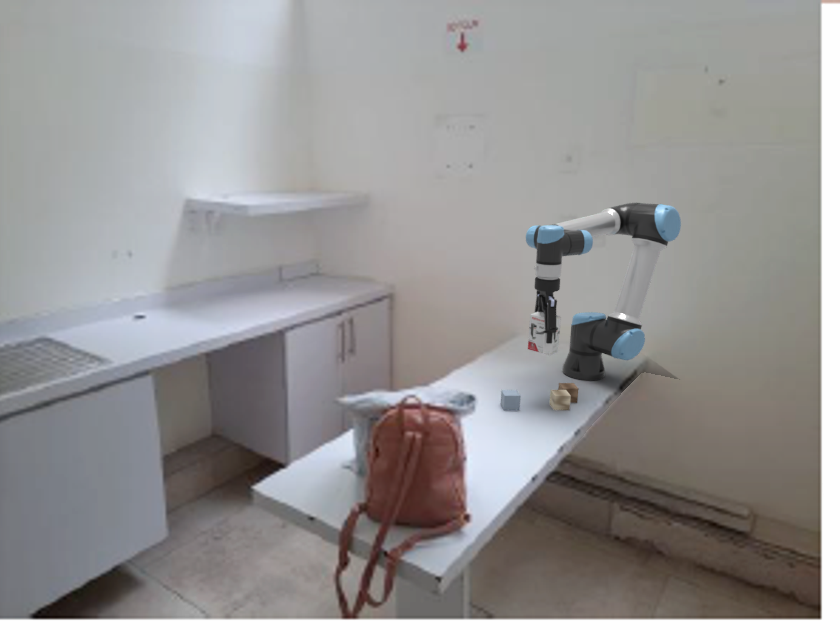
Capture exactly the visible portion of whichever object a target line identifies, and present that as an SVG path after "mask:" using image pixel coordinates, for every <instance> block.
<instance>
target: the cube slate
mask: <svg viewBox="0 0 840 630" xmlns="http://www.w3.org/2000/svg"><path fill="white" fill-rule="evenodd" d="M520 404H521V394H520V393H519V391H518V389H501V390H500V406H501V408H502V410H503V411H520V409H521V408H520V406H521V405H520Z"/></svg>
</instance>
